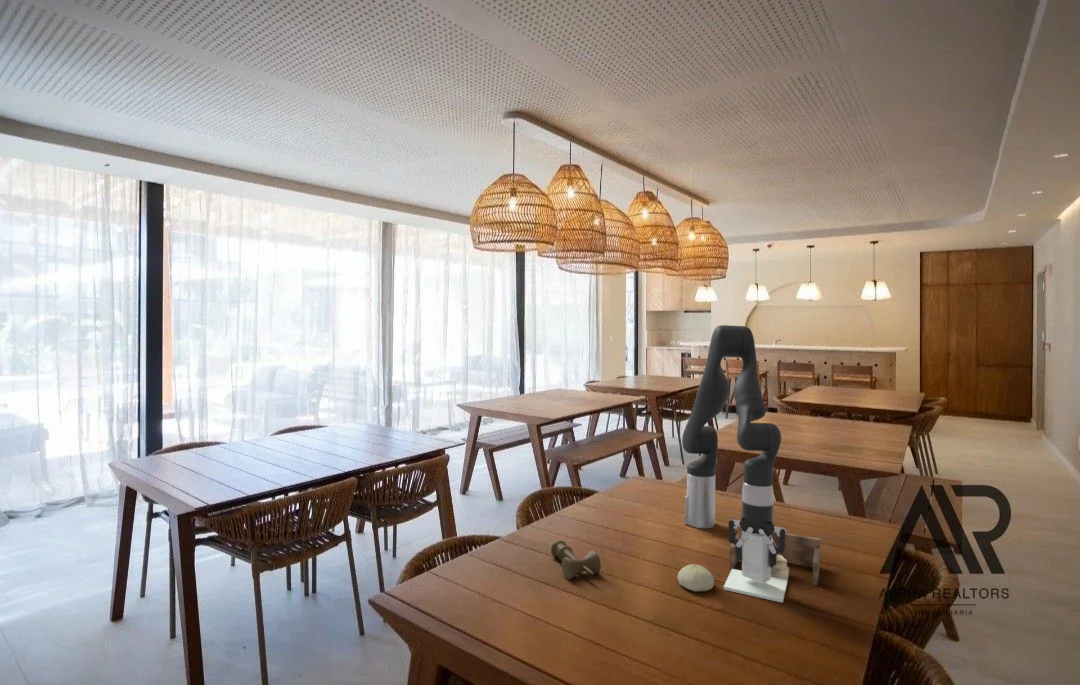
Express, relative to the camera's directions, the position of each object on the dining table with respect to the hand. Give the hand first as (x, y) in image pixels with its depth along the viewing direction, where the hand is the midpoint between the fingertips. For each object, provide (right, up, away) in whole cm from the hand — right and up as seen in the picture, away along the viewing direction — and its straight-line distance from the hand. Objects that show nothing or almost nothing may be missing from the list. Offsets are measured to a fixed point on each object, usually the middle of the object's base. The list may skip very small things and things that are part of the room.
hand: (756, 563), depth 147 cm
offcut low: (+7, -6, +7) cm, 12 cm away
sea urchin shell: (-15, -6, +1) cm, 17 cm away
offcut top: (+7, -4, +7) cm, 11 cm away
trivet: (0, -6, 0) cm, 6 cm away
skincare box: (0, -4, 0) cm, 4 cm away
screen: (+9, -6, +11) cm, 15 cm away
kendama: (-46, -6, +10) cm, 48 cm away
